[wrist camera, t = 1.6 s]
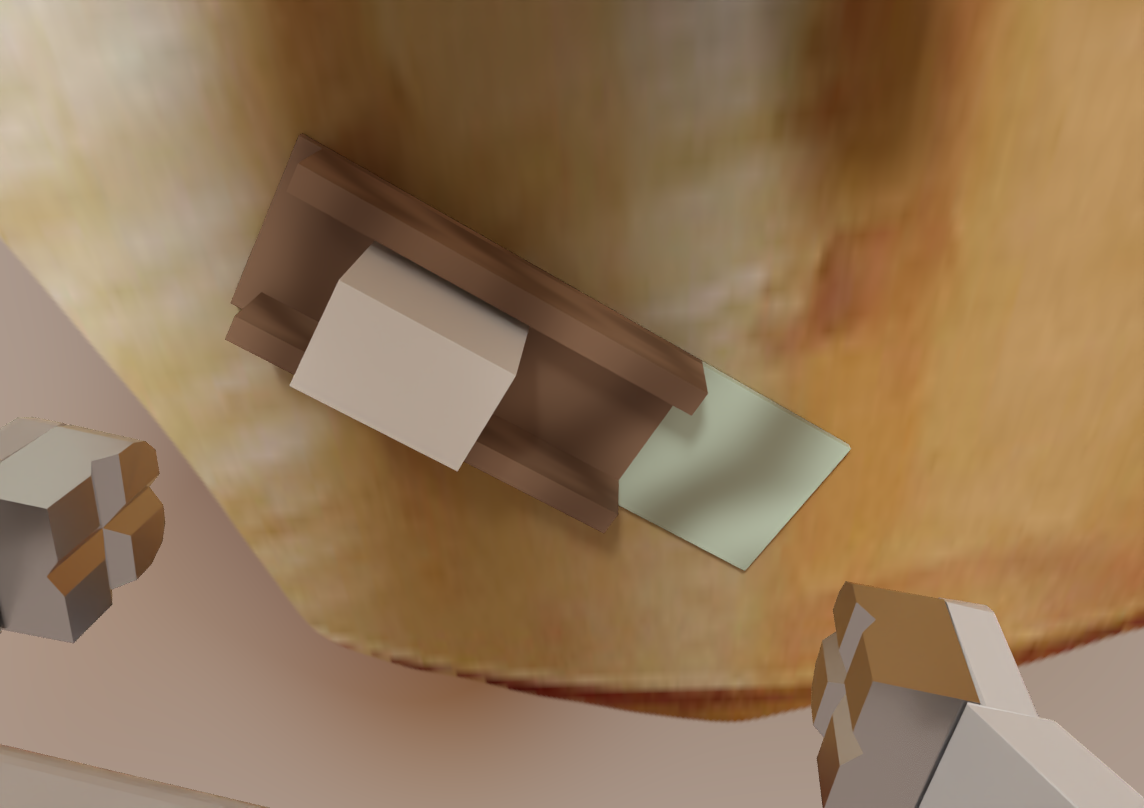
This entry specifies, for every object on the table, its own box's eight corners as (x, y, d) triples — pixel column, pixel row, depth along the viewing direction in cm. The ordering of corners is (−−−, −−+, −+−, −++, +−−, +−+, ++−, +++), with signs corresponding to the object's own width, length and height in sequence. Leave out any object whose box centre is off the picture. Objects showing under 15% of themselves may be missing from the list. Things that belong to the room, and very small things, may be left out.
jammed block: (338, 324, 37) (289, 385, 32) (383, 231, 35) (338, 279, 30) (481, 400, 38) (457, 471, 33) (532, 314, 36) (516, 375, 31)
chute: (234, 299, 37) (202, 327, 35) (302, 133, 34) (272, 149, 31) (743, 565, 42) (752, 609, 40) (848, 444, 39) (866, 482, 36)
